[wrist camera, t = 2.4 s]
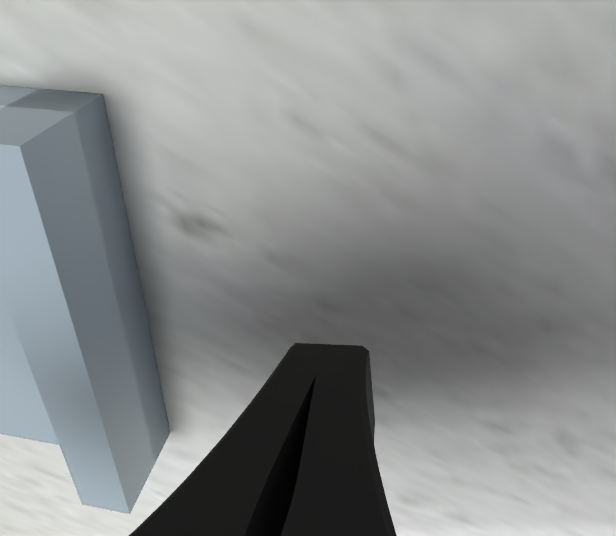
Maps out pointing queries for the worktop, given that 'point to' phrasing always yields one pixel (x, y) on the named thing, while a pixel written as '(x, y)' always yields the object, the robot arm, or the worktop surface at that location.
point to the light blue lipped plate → (73, 298)
